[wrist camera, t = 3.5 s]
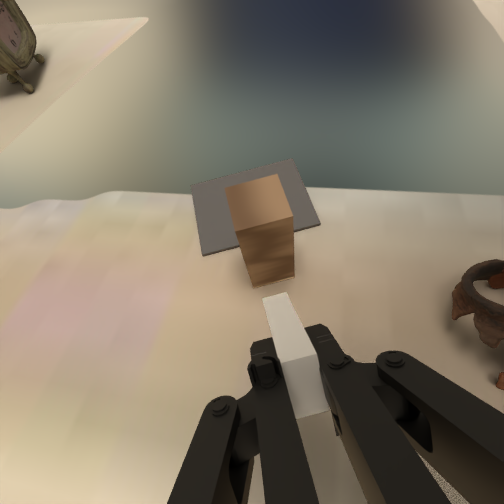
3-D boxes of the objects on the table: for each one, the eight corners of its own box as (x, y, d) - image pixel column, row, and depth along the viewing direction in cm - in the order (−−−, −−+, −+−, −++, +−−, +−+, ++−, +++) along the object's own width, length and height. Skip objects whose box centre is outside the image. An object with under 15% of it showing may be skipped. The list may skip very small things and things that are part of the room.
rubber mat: (292, 160, 40) (292, 158, 40) (320, 224, 35) (320, 223, 34) (191, 187, 40) (190, 185, 40) (203, 256, 35) (202, 254, 34)
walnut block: (282, 242, 34) (277, 173, 25) (294, 277, 32) (293, 216, 22) (244, 253, 34) (224, 187, 25) (253, 288, 32) (234, 231, 22)
